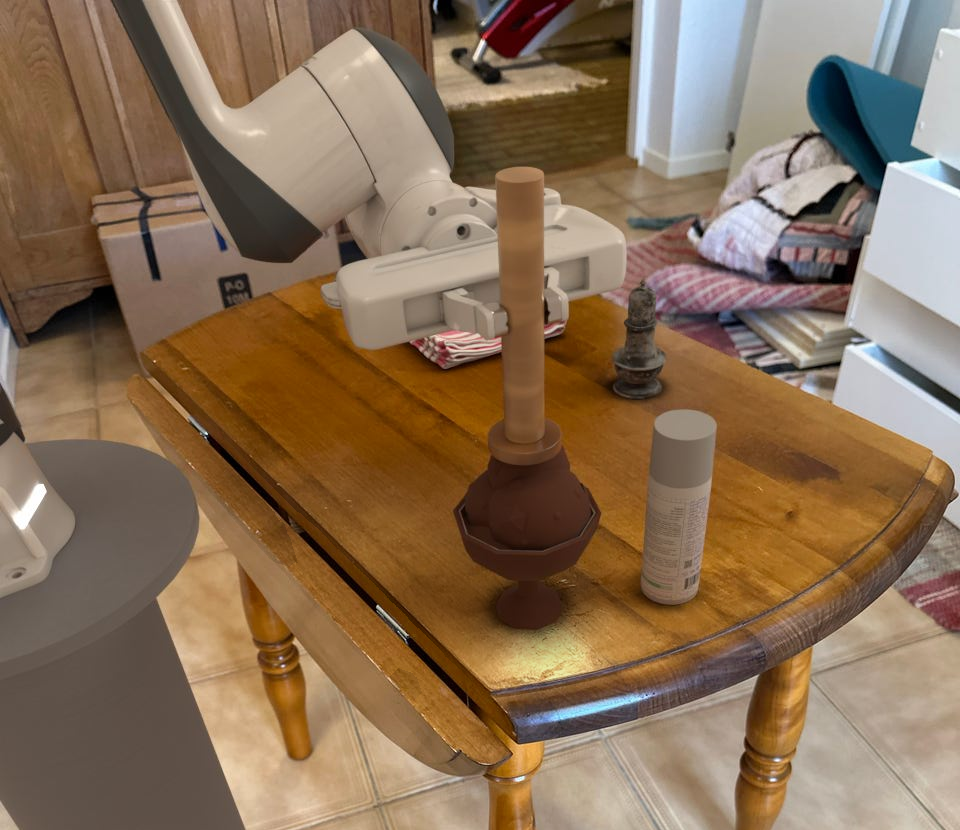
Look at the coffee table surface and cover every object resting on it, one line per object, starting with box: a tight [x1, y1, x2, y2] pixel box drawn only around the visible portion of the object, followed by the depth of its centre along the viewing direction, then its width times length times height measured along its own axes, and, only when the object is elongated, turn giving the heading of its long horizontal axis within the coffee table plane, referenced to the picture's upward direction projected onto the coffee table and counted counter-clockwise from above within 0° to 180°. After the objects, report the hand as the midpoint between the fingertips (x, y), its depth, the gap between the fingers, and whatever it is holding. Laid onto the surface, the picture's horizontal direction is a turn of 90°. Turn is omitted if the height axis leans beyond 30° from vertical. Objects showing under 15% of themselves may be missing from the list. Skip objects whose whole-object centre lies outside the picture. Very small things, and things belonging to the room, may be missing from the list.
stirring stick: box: [487, 166, 563, 465], centre depth 59 cm, size 5×5×18 cm
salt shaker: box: [611, 278, 668, 400], centre depth 98 cm, size 6×6×12 cm
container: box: [640, 408, 718, 606], centre depth 71 cm, size 5×5×15 cm
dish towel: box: [408, 320, 567, 370], centre depth 117 cm, size 17×23×4 cm
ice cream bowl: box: [452, 445, 602, 630], centre depth 71 cm, size 11×11×15 cm
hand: (529, 318), depth 58 cm, fingers closed on stirring stick, 3 cm apart
